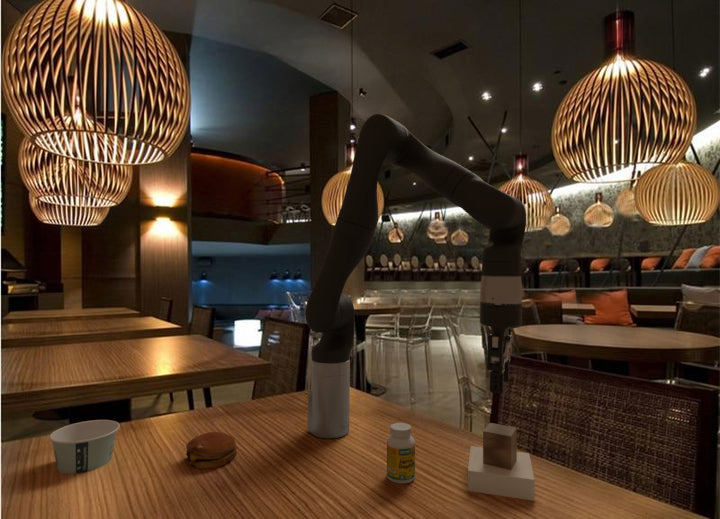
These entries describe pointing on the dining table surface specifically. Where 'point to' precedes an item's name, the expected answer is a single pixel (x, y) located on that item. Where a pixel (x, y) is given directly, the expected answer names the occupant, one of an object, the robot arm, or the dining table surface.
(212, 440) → the burger
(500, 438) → the walnut block
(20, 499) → the dining table surface
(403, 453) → the supplement bottle
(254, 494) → the dining table surface
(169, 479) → the dining table surface
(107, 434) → the food container
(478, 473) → the riser block
